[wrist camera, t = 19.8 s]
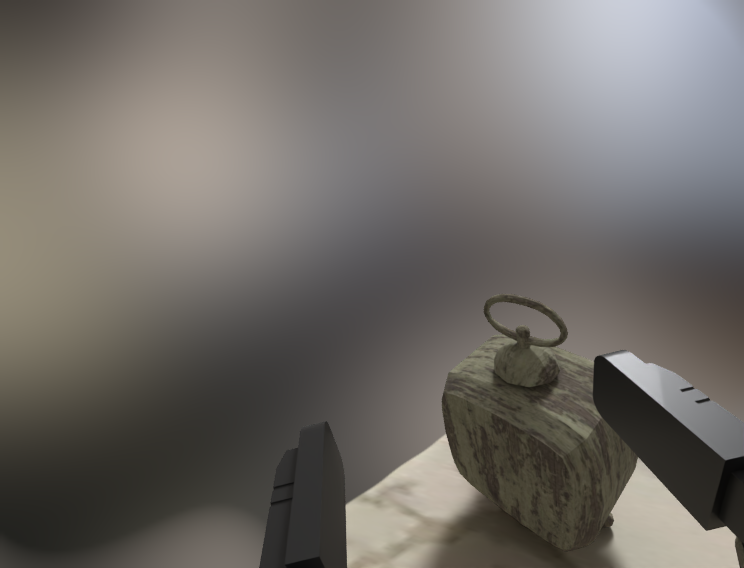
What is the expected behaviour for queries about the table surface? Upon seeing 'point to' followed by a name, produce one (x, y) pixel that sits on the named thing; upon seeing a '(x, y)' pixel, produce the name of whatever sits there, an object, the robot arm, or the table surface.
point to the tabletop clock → (536, 433)
